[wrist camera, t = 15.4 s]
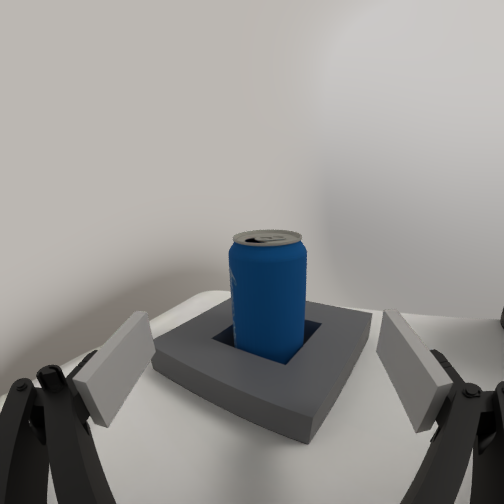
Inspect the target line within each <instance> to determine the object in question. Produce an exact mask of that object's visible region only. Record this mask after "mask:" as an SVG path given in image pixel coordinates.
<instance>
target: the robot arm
mask: <svg viewBox="0 0 504 504" xmlns="http://www.w3.org/2000/svg"><path fill="white" fill-rule="evenodd" d="M501 324H502V326H503V328H504V308H503V312H502V315H501ZM155 352H156V350H155V346H154V342H153V337H152V333H151V328H150V324H149V319H148V314H147V312H144V311H135V312H134V313H133V314H132V315H131V316H130V317H129V318H128V319H127V320H126V321H125V322H124V323H123V325H122V326H121V327H120V328H119V329H118V330H117V331H116V332H115V333H114V334H113V335H112V336H111V337H110V338H109V339H108V340H107V341H106V342H105V344H104V345H103V346H102V347H101V348H100V349H99V350H94V351H93V352H91V353H89V354H88V355H87V356H86V357H85V358H84V359H83V360H82V362H80V363H79V364H78V366H76V367H75V368H74V369H73V371H72V372H71V373H70V374H69V375H68V376H67V377H66V378H65V377H64V375H63V372H62V370H61V368H60V367H59V366H57V365H48V366H45V367H43V368H42V369H40V370H39V371H38V372H37V375H36V377H37V379H38V381H39V383H40V385H41V387H42V388H37V387H34V385H33V383H32V381H31V380H30V379H27V378H22V379H19V380H17V381H15V382H14V383H13V385H12V386H11V388H10V391H9V393H8V395H7V398H6V400H5V403H4V405H3V408H2V411H1V413H0V504H47V487H48V473H49V462H50V468H51V474H52V479H53V484H54V488H55V493H56V497H57V501H58V504H116V502H115V499H114V497H113V495H112V492H111V490H110V487H109V485H108V482H107V480H106V477H105V474H104V472H103V469H102V466H101V463H100V460H99V457H98V454H97V451H96V448H95V444H94V441H93V438H92V434H91V430H90V427H89V424H88V422H87V421H86V420H87V419H88V418H89V416H91V418H92V420H93V422H94V424H97V425H100V426H103V427H106V428H108V427H109V426H110V424H111V422H112V421H113V419H114V417H115V416H116V414H117V413H118V411H119V409H120V408H121V406H122V404H123V403H124V401H125V400H126V398H127V396H128V395H129V393H130V392H131V390H132V388H133V387H134V385H135V384H136V382H137V380H138V379H139V377H140V376H141V374H142V373H143V371H144V369H145V368H146V366H147V365H148V363H149V362H150V360H151V358H152V357H153V355H154V354H155ZM376 352H377V354H378V356H379V358H380V360H381V362H382V364H383V366H384V368H385V370H386V371H387V373H388V375H389V377H390V380H391V382H392V384H393V386H394V388H395V390H396V392H397V394H398V396H399V398H400V400H401V402H402V404H403V406H404V409H405V411H406V413H407V415H408V417H409V419H410V422H411V424H412V426H413V428H414V430H415V433H419V432H423V431H426V430H430V429H431V428H432V426H433V424H434V422H435V420H436V422H437V424H438V428H437V430H436V432H435V433H434V435H433V437H432V439H431V440H430V442H431V444H430V447H429V449H428V451H427V453H426V456H425V458H424V460H423V462H422V464H421V466H420V468H419V470H418V472H417V474H416V476H415V478H414V480H413V482H412V484H411V486H410V487H409V489H408V491H407V493H406V494H405V496H404V498H403V500H402V501H401V503H400V504H454V502H455V499H456V497H457V494H458V492H459V489H460V486H461V484H462V481H463V478H464V475H465V472H466V469H467V466H468V462H469V459H470V456H471V452H472V448H473V473H472V487H471V497H470V504H504V381H502V382H500V383H499V384H498V385H497V387H496V389H495V391H484V392H483V391H482V390H481V388H480V387H479V386H477V385H475V384H473V383H465V382H464V381H463V379H462V378H461V377H460V375H459V374H458V373H457V372H456V370H455V369H454V368H453V367H452V365H451V364H450V363H449V362H448V360H447V359H446V358H445V356H444V355H443V354H442V353H440V352H438V351H437V350H435V349H434V350H429V349H428V348H427V347H426V345H425V344H424V343H423V342H422V340H421V339H420V338H419V336H418V335H417V334H416V333H415V331H414V330H413V329H412V328H411V327H410V325H409V324H408V323H407V322H406V320H405V319H404V318H403V317H402V316H401V314H400V313H399V312H398V311H397V310H396V309H389V310H384V312H383V318H382V324H381V329H380V335H379V340H378V345H377V350H376ZM29 421H30V422H29Z"/></svg>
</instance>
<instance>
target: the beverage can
mask: <svg viewBox="0 0 504 504" xmlns="http://www.w3.org/2000/svg"><path fill="white" fill-rule="evenodd" d="M301 239H302V235H301V234H299V233H296V232H292V231H286V230H256V231H248V232H243V233H239V234H236V235H234V237H233V241H234V243H233V245H232V246H231V248H230V250H229V270H230V287H231V302H232V317H233V331H234V345H235V348H237V349H240V350H242V351H245V352H248V353H251V354H254V355H257V356H260V357H262V358H265V359H268V360H271V361H274V362H278V363H281V364H284V365H286V364H287V363H288V362H289V361H290V360H291V359H292V358H293V357H294V356H295V355H296V353H297V352H298V351H299V350H300V349H301V348H302V347H303V340H304V322H305V300H306V268H307V267H306V266H307V263H306V262H307V251H306V248H305V246H304V245H303V243H302V242H301Z"/></svg>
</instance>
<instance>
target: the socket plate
mask: <svg viewBox="0 0 504 504" xmlns="http://www.w3.org/2000/svg"><path fill="white" fill-rule="evenodd" d="M371 319H372V313H367V312H362V311H356V310H351V309H345V308H340V307H335V306H330V305H325V304H319V303H314V302H309V301H305V322H304V340H303V344H304V346H303V347H302V348H301V349H300V350H299V351H298V352H297V353H296V355H295V356H294V357H293V358H292V359H291V360H290V361H289V362H288V363H287V364H286V365H284V364H281V363H278V362H274V361H271V360H268V359H265V358H262V357H260V356H257V355H254V354H251V353H248V352H245V351H242V350H240V349H237V348H235V345H234V331H233V317H232V302H231V298H229V299H228V300H226V301H224V302H222V303H220V304H219V305H217V306H215V307H213V308H211V309H210V310H208V311H206V312H204V313H202V314H200V315H198V316H197V317H195V318H193V319H191V320H189V321H187V322H186V323H184V324H182V325H180V326H178V327H176V328H174V329H172V330H171V331H169V332H167V333H165V334H163V335H161V336H159V337H157V338H155V339H153V342H154V346H155V350H156V352H155V354H154V355H153V357H152V358H151V362H152V365H153V369H155V370H156V371H158V372H160V373H161V374H163V375H164V376H166V377H168V378H169V379H171V380H172V381H174V382H176V383H178V384H179V385H181V386H183V387H184V388H186V389H188V390H190V391H191V392H193V393H195V394H197V395H199V396H200V397H202V398H204V399H206V400H208V401H210V402H212V403H214V404H216V405H217V406H219V407H221V408H223V409H225V410H227V411H229V412H231V413H234V414H236V415H238V416H240V417H242V418H244V419H246V420H249V421H251V422H253V423H255V424H257V425H260V426H262V427H264V428H267V429H269V430H272V431H274V432H276V433H279V434H281V435H284V436H287V437H289V438H292V439H295V440H297V441H300V442H303V443H306V444H309V443H310V441H311V440H312V438H313V437H314V435H315V434H316V432H317V431H318V429H319V428H320V426H321V424H322V423H323V421H324V420H325V418H326V416H327V415H328V413H329V411H330V410H331V408H332V406H333V405H334V403H335V401H336V399H337V398H338V396H339V394H340V392H341V391H342V389H343V387H344V385H345V383H346V381H347V380H348V378H349V376H350V374H351V372H352V370H353V368H354V366H355V364H356V362H357V360H358V358H359V356H360V354H361V352H362V350H363V348H364V346H365V344H366V342H367V340H368V337H369V332H370V326H371Z"/></svg>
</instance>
